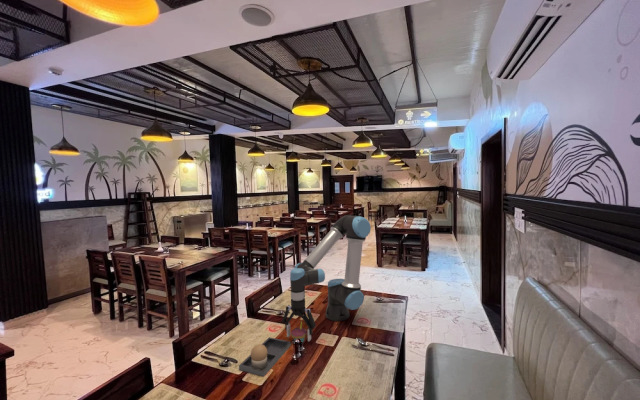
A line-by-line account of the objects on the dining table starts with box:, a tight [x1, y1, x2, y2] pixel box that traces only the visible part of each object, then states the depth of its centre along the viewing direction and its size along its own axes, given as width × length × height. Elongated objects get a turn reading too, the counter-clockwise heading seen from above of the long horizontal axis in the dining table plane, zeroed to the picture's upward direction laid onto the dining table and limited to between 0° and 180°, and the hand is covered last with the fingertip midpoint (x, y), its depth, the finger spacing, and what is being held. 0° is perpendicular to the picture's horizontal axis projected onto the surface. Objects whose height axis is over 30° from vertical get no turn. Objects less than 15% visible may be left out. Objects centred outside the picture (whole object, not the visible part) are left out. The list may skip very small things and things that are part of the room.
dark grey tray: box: [238, 337, 292, 377], centre depth 134 cm, size 13×25×3 cm, turn 158°
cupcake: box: [290, 320, 308, 344], centre depth 148 cm, size 9×8×12 cm
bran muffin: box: [250, 343, 268, 369], centre depth 128 cm, size 8×8×9 cm
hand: (298, 338), depth 148 cm, fingers open, 12 cm apart
